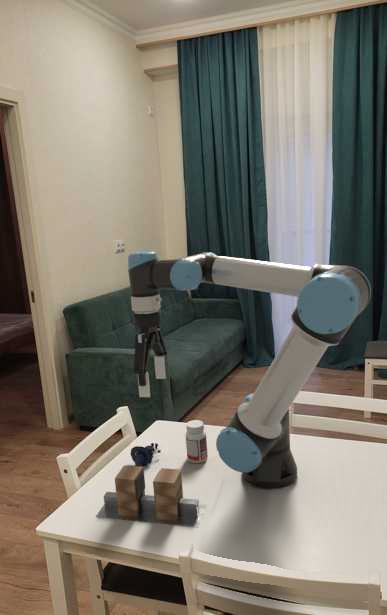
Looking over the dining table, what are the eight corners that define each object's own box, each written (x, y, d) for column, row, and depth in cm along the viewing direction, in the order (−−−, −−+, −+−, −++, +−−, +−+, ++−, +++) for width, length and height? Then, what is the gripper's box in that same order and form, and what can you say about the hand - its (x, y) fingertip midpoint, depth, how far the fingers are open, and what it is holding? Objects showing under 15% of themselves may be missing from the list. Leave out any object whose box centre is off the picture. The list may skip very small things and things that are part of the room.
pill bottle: (204, 452, 149) (202, 417, 147) (209, 461, 143) (207, 426, 141) (185, 455, 148) (182, 420, 146) (189, 465, 142) (186, 429, 140)
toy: (167, 438, 153) (151, 448, 139) (166, 461, 153) (150, 473, 139) (142, 436, 156) (124, 446, 141) (142, 459, 155) (123, 471, 141)
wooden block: (147, 502, 123) (144, 466, 121) (139, 517, 118) (135, 479, 116) (127, 500, 125) (123, 465, 123) (118, 515, 119) (114, 478, 117)
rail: (206, 507, 121) (205, 491, 120) (198, 531, 113) (197, 513, 112) (110, 499, 128) (108, 483, 127) (95, 520, 119) (93, 504, 118)
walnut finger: (183, 506, 121) (180, 469, 119) (177, 521, 115) (174, 483, 113) (163, 504, 122) (160, 468, 120) (155, 518, 117) (152, 481, 115)
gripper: (144, 321, 115) (151, 405, 119) (173, 301, 138) (178, 371, 143) (114, 322, 117) (123, 404, 121) (148, 301, 140) (154, 371, 145)
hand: (153, 387), depth 132 cm, fingers open, 13 cm apart
